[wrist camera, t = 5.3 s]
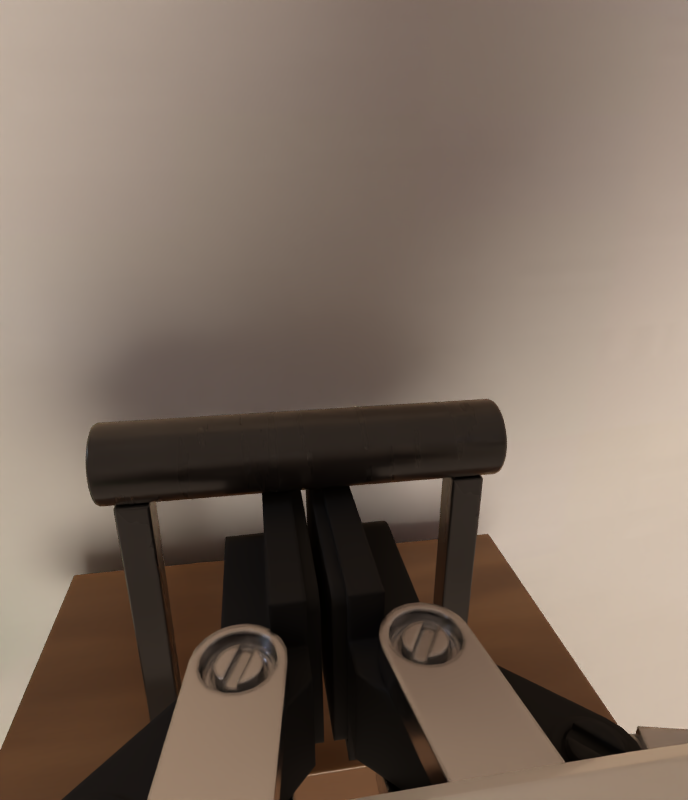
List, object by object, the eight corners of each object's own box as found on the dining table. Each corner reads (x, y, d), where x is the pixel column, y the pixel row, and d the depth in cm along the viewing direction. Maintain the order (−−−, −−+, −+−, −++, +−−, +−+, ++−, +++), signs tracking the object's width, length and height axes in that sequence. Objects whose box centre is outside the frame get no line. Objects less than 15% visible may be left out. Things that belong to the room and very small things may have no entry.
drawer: (24, 346, 14) (-163, 493, 7) (512, 326, 15) (695, 430, 9) (137, 869, 21) (92, 1162, 15) (456, 813, 23) (535, 1052, 17)
